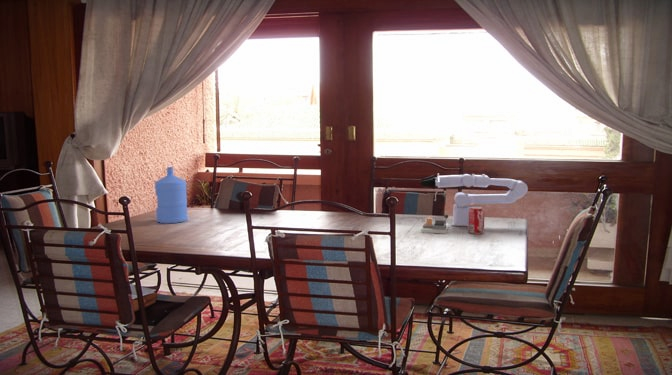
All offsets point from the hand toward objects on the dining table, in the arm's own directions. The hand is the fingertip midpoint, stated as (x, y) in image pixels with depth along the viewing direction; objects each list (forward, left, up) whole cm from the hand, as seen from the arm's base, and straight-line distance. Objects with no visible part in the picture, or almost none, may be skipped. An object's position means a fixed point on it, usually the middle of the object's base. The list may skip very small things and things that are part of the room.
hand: (420, 182), depth 308 cm
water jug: (+126, +18, -21) cm, 129 cm away
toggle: (-12, +9, -18) cm, 24 cm away
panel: (-9, +13, -21) cm, 26 cm away
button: (-11, +18, -18) cm, 28 cm away
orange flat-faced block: (-6, +11, -19) cm, 23 cm away
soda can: (-28, +18, -21) cm, 39 cm away
